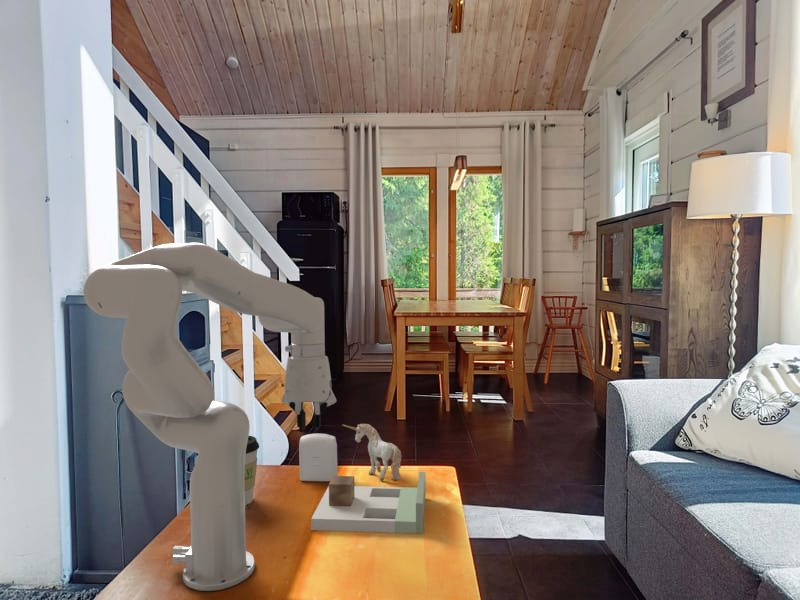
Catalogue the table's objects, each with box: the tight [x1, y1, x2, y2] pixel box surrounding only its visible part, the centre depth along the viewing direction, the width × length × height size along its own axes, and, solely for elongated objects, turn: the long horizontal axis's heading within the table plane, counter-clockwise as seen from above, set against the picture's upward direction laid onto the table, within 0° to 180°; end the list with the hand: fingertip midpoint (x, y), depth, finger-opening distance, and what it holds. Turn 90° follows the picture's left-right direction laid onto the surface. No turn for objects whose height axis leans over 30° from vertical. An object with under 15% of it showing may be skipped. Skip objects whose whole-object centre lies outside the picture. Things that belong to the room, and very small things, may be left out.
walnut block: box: [328, 475, 355, 506], centre depth 121 cm, size 5×5×5 cm
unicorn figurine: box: [342, 423, 402, 482], centre depth 144 cm, size 7×20×13 cm, turn 55°
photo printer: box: [298, 433, 339, 482], centre depth 141 cm, size 10×4×12 cm, turn 85°
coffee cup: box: [245, 435, 260, 506], centre depth 127 cm, size 10×10×15 cm
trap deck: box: [310, 471, 426, 535], centre depth 121 cm, size 24×18×6 cm
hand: (309, 429), depth 121 cm, fingers open, 2 cm apart
